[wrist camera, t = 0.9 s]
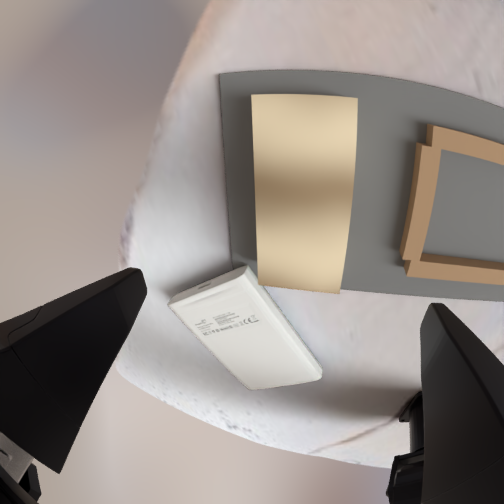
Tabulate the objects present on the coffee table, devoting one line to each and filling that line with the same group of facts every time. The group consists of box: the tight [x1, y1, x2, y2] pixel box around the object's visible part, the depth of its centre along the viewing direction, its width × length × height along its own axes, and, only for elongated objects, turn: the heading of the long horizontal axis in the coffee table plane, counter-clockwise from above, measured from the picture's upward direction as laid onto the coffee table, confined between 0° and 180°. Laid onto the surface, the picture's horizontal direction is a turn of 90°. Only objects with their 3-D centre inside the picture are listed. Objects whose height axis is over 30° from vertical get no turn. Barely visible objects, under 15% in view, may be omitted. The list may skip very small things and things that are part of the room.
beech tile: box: [251, 94, 358, 294], centre depth 15 cm, size 11×5×2 cm, turn 2°
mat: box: [220, 70, 504, 302], centre depth 14 cm, size 14×28×2 cm, turn 92°
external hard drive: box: [167, 265, 323, 390], centre depth 23 cm, size 2×8×12 cm
